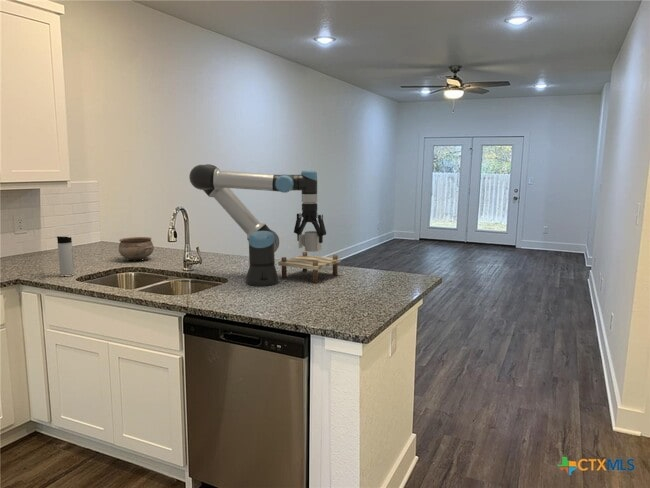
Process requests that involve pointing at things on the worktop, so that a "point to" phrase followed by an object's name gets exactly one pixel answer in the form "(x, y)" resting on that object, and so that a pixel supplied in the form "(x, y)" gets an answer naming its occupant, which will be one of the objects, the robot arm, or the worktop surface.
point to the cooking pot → (136, 247)
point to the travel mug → (65, 255)
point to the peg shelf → (309, 264)
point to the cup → (310, 241)
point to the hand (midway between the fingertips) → (309, 248)
